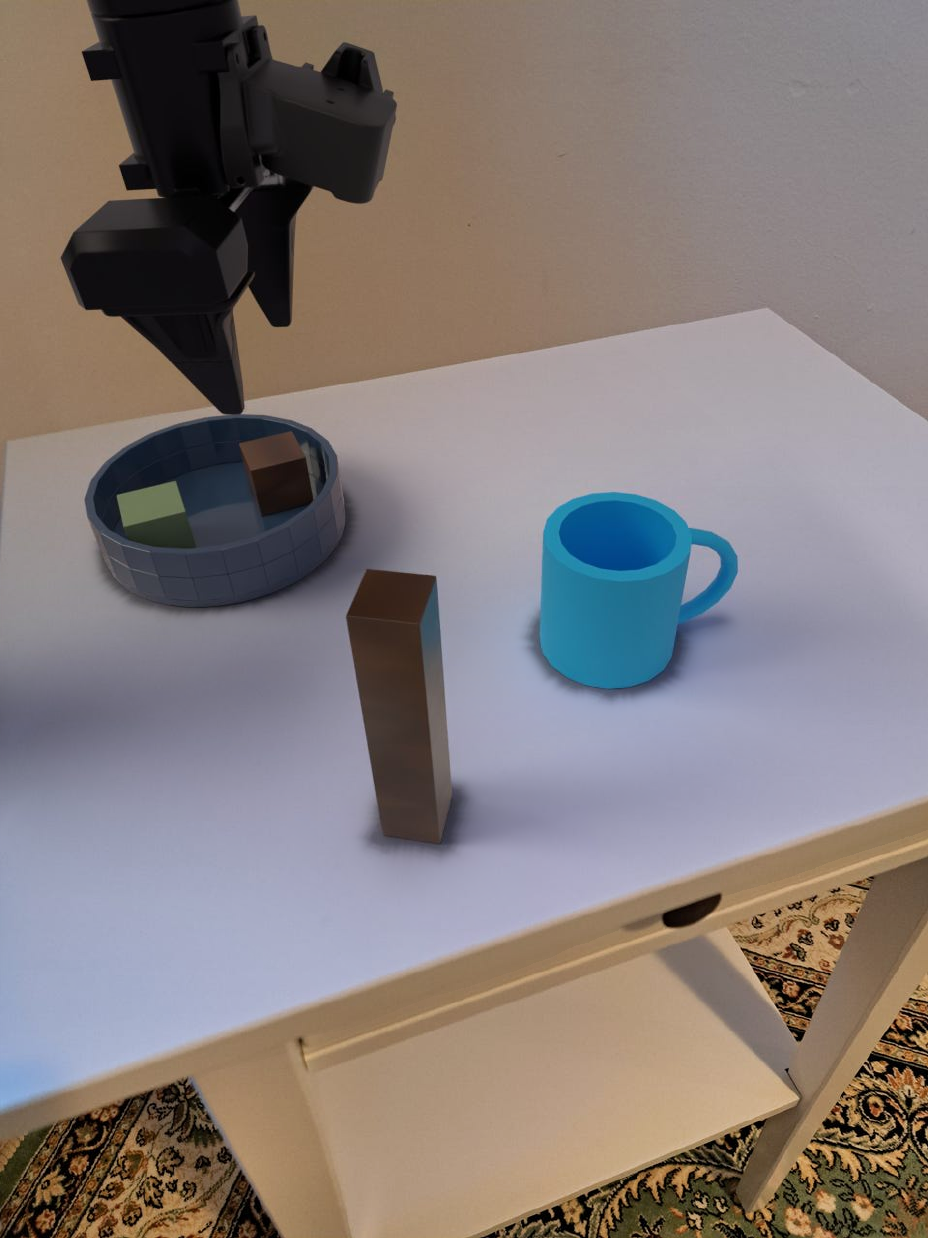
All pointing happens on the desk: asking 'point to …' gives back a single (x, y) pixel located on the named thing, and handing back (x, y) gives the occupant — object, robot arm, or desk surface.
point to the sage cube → (156, 517)
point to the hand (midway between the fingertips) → (259, 366)
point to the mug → (620, 587)
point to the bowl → (216, 513)
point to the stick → (403, 700)
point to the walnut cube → (276, 473)
